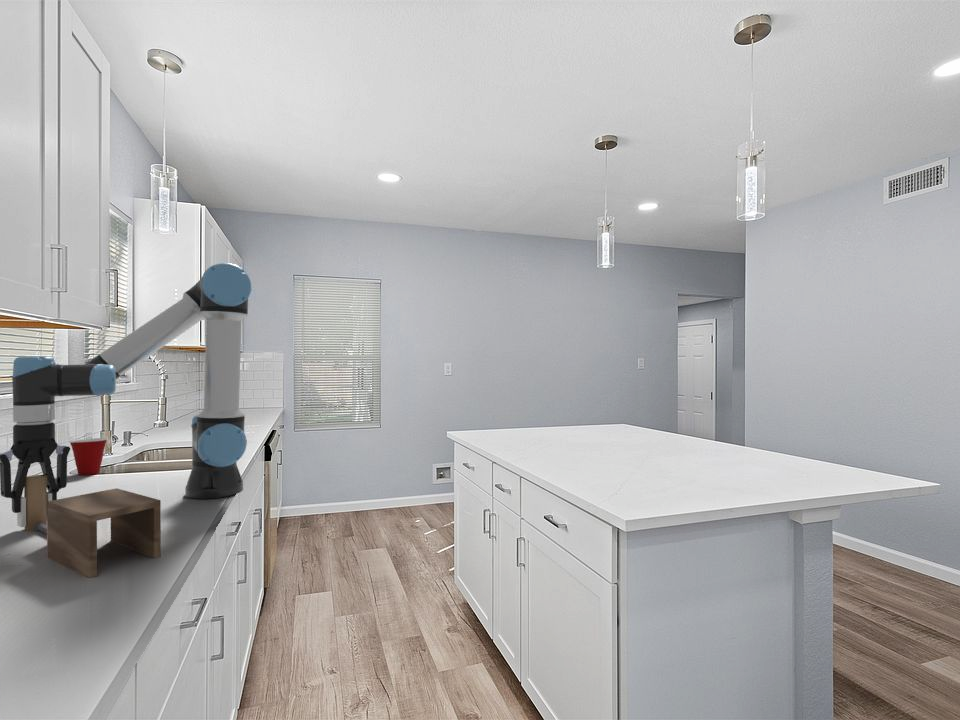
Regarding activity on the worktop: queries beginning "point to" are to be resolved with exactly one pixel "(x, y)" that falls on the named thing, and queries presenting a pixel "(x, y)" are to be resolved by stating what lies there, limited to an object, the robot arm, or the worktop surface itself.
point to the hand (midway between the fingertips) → (35, 522)
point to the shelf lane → (78, 526)
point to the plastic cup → (88, 455)
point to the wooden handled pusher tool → (36, 503)
